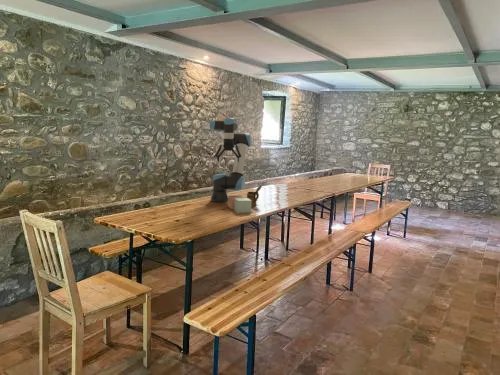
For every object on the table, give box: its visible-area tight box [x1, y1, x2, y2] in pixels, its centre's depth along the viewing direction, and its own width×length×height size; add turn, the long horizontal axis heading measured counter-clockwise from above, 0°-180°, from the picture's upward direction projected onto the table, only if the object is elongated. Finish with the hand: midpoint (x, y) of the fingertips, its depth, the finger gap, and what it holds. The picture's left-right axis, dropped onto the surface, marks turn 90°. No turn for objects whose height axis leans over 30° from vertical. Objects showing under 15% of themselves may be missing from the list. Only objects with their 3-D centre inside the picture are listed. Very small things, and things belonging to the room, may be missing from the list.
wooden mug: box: [246, 185, 262, 207], centre depth 304 cm, size 9×14×18 cm, turn 61°
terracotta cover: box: [227, 195, 245, 210], centre depth 295 cm, size 10×10×9 cm
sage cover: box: [234, 197, 252, 214], centre depth 283 cm, size 10×10×9 cm
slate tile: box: [231, 209, 254, 214], centre depth 283 cm, size 13×13×1 cm
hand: (227, 166), depth 290 cm, fingers open, 13 cm apart
